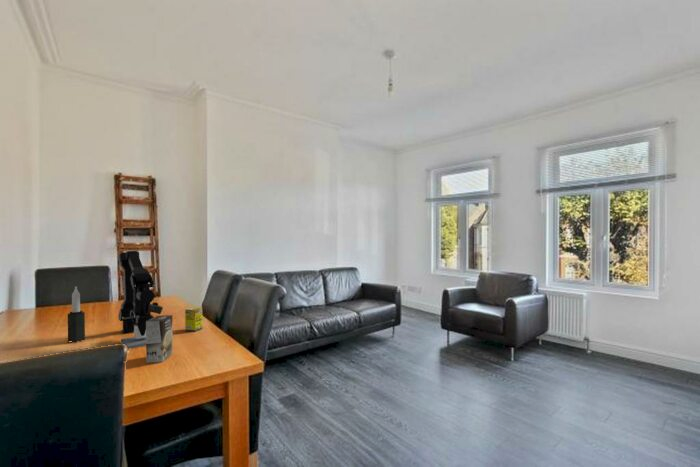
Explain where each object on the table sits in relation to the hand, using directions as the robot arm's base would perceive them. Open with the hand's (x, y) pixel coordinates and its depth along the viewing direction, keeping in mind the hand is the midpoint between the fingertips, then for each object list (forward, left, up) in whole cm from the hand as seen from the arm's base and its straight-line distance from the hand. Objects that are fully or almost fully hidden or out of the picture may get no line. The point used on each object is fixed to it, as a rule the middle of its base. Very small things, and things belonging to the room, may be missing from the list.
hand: (141, 334), depth 159 cm
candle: (-22, -22, -4) cm, 31 cm away
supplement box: (-4, +24, -4) cm, 25 cm away
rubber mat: (0, 0, -4) cm, 4 cm away
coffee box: (+28, +1, -4) cm, 28 cm away
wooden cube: (0, 0, -1) cm, 1 cm away
